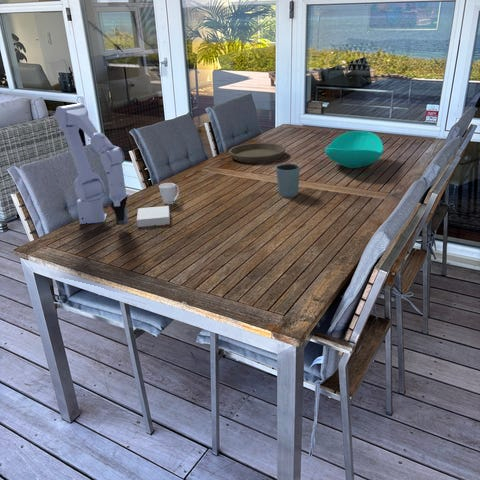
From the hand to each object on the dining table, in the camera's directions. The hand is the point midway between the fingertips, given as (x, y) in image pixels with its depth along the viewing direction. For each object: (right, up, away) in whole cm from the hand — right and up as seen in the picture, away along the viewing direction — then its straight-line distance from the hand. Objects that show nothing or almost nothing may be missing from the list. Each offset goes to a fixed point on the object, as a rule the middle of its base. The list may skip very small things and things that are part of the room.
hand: (121, 217), depth 175 cm
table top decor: (+100, +29, +64) cm, 122 cm away
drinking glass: (+64, +12, +32) cm, 72 cm away
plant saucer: (+53, +37, +88) cm, 109 cm away
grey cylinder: (0, -2, +1) cm, 2 cm away
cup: (+14, +8, +28) cm, 32 cm away
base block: (+10, 0, +11) cm, 15 cm away
